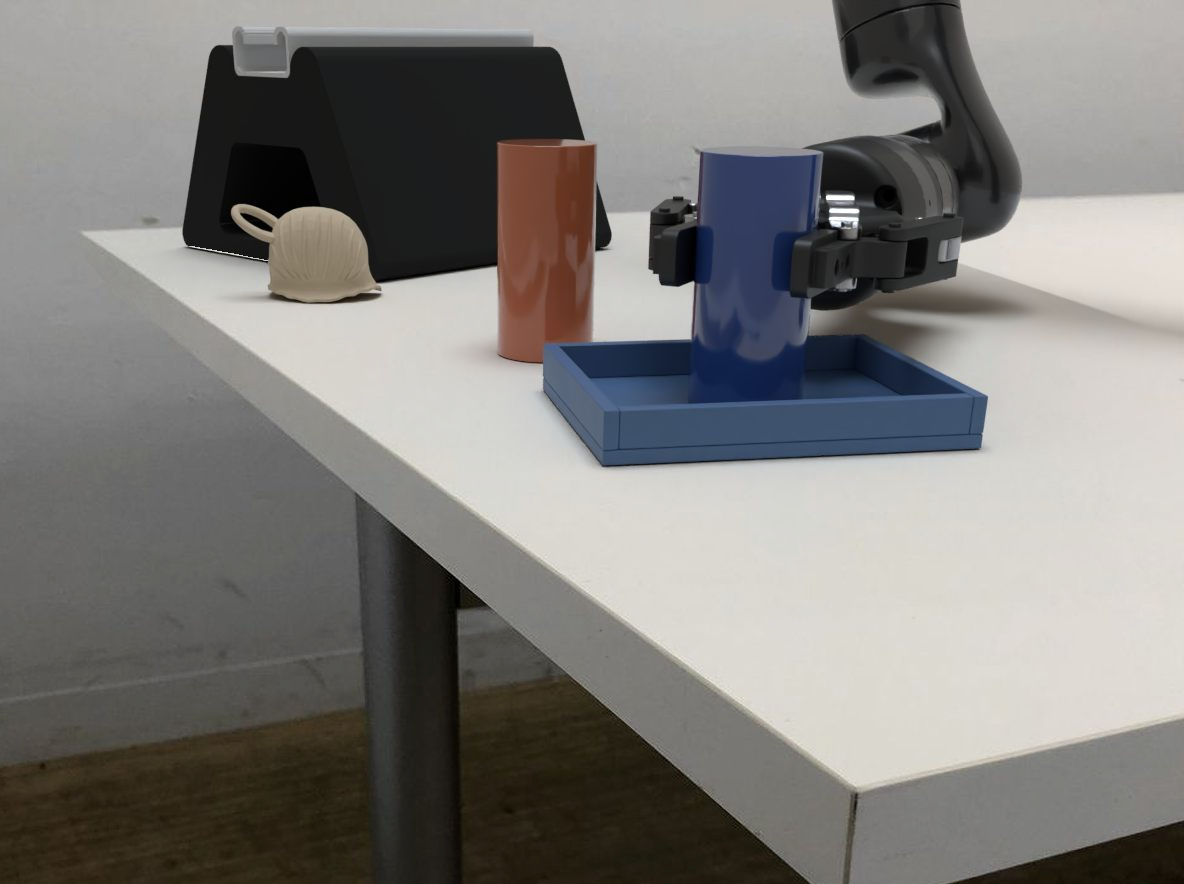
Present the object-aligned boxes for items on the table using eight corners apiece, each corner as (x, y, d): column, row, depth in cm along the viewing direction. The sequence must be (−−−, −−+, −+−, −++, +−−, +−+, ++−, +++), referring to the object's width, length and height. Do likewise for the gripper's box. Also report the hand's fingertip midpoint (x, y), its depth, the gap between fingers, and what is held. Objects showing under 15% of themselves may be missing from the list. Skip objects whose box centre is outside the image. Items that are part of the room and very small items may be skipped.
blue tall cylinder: (780, 387, 61) (799, 146, 57) (819, 414, 57) (842, 155, 53) (674, 391, 60) (685, 146, 56) (705, 419, 56) (720, 156, 52)
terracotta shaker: (581, 341, 73) (585, 138, 69) (602, 361, 68) (607, 146, 64) (491, 344, 72) (489, 139, 68) (505, 364, 68) (505, 146, 64)
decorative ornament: (370, 304, 82) (367, 210, 80) (232, 300, 83) (225, 207, 81) (384, 292, 86) (381, 202, 84) (252, 289, 86) (245, 199, 84)
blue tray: (860, 378, 65) (865, 333, 65) (981, 448, 54) (989, 395, 54) (542, 389, 63) (543, 343, 62) (602, 466, 52) (604, 410, 51)
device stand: (611, 248, 104) (617, 29, 98) (380, 282, 89) (370, 27, 83) (411, 221, 118) (406, 28, 112) (183, 246, 103) (163, 26, 97)
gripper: (715, 131, 69) (567, 154, 55) (1012, 143, 63) (931, 172, 49) (707, 285, 72) (564, 343, 58) (989, 310, 66) (906, 381, 52)
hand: (733, 264), depth 54 cm, fingers closed on blue tall cylinder, 4 cm apart
